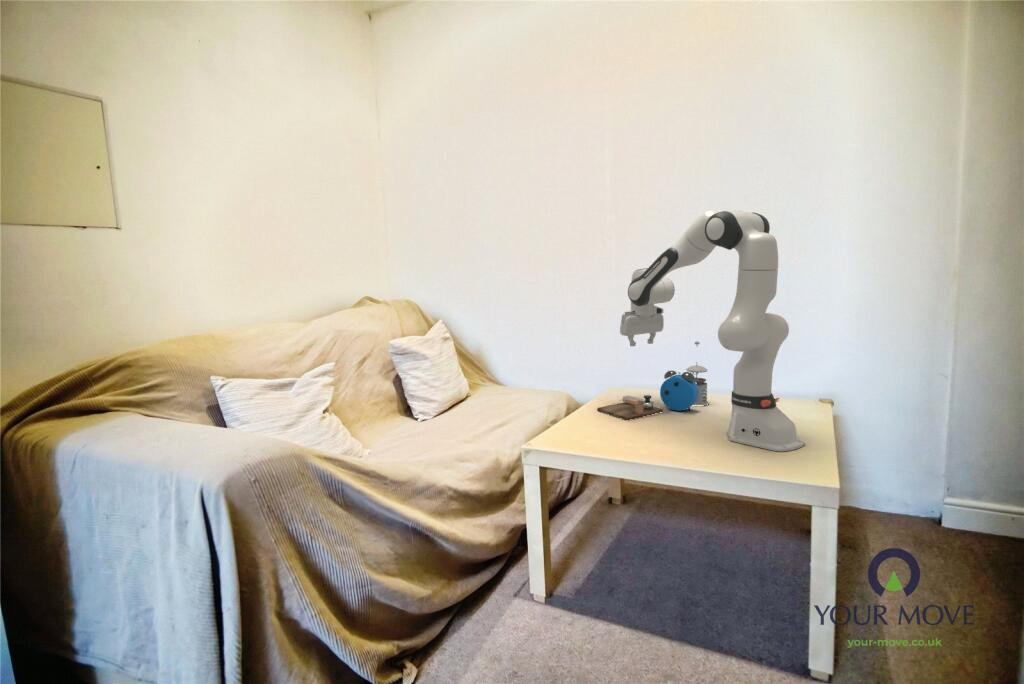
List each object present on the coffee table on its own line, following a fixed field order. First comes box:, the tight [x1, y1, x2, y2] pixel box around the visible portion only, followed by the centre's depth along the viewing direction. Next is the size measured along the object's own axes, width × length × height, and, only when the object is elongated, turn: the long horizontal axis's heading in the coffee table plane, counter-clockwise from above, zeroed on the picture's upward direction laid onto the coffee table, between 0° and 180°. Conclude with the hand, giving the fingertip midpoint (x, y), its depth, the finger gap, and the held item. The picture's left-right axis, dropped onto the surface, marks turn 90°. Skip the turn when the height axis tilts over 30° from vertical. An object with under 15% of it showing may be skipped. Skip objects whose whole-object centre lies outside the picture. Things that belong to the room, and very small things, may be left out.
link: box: [622, 394, 655, 409], centre depth 205 cm, size 14×4×4 cm, turn 30°
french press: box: [686, 340, 709, 406], centre depth 210 cm, size 10×12×25 cm
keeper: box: [625, 398, 644, 414], centre depth 197 cm, size 7×3×4 cm, turn 31°
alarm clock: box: [659, 370, 699, 412], centre depth 201 cm, size 13×6×15 cm, turn 52°
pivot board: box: [596, 401, 664, 421], centre depth 202 cm, size 17×18×1 cm
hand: (641, 344), depth 210 cm, fingers open, 8 cm apart
